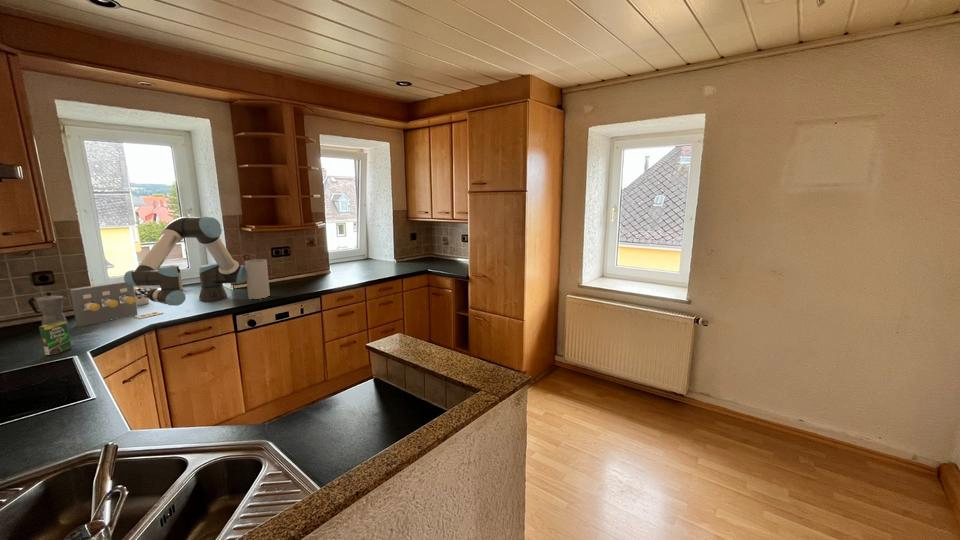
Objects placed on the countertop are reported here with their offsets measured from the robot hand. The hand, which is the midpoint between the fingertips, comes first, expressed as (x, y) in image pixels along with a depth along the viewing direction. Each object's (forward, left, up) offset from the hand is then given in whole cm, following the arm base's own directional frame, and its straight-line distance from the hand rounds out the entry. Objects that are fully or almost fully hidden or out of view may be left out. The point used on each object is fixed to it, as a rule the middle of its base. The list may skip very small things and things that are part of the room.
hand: (135, 290), depth 205 cm
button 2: (+9, -4, -9) cm, 13 cm away
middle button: (+12, +2, -9) cm, 15 cm away
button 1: (+16, +9, -9) cm, 20 cm away
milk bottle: (+26, -31, -17) cm, 43 cm away
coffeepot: (+34, +12, -17) cm, 40 cm away
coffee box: (-3, +44, -17) cm, 48 cm away
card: (+2, -8, -17) cm, 18 cm away
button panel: (+17, 0, -17) cm, 23 cm away
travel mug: (+30, -64, -17) cm, 72 cm away
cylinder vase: (-37, -49, -17) cm, 64 cm away
